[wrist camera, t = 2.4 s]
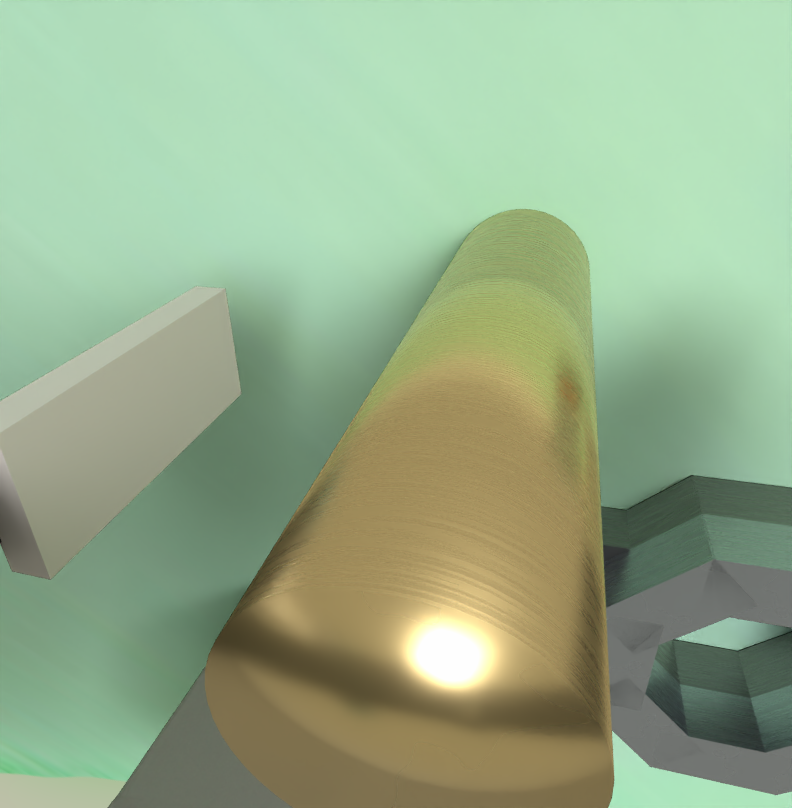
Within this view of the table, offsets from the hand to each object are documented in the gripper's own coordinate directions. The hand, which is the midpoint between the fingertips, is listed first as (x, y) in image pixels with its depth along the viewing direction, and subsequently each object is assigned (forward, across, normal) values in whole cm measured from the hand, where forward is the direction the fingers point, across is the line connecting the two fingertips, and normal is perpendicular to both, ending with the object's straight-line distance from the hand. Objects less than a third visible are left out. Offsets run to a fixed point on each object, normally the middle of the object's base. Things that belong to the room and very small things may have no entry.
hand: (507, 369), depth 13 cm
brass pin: (+6, 0, 0) cm, 6 cm away
